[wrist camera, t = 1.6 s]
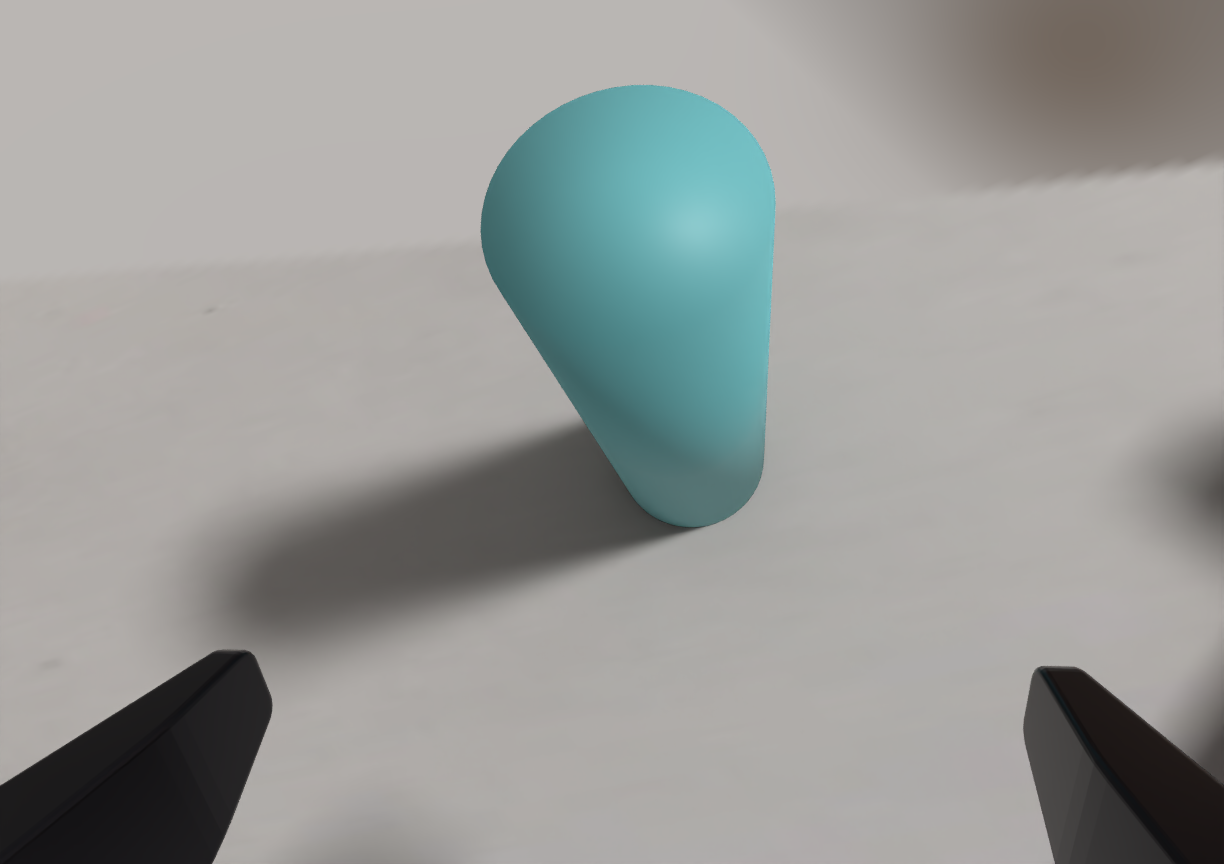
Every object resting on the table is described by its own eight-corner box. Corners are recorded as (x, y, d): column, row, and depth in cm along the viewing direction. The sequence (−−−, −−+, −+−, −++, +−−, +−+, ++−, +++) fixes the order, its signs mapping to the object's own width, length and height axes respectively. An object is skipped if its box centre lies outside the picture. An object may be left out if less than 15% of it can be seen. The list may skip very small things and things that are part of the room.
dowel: (728, 551, 22) (697, 392, 10) (597, 491, 23) (430, 284, 11) (786, 421, 22) (823, 130, 11) (657, 369, 24) (562, 55, 12)
